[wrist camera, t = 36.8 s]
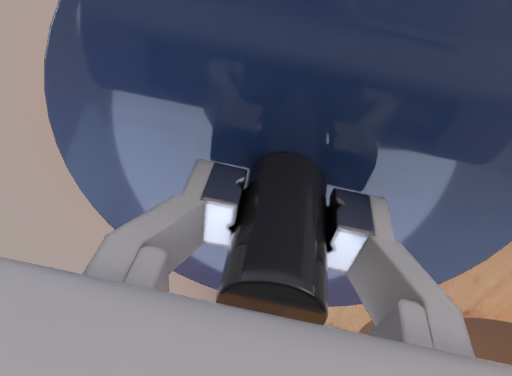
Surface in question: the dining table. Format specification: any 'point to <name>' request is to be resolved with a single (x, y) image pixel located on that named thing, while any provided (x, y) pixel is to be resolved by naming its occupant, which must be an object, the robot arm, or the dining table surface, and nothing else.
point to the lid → (293, 127)
